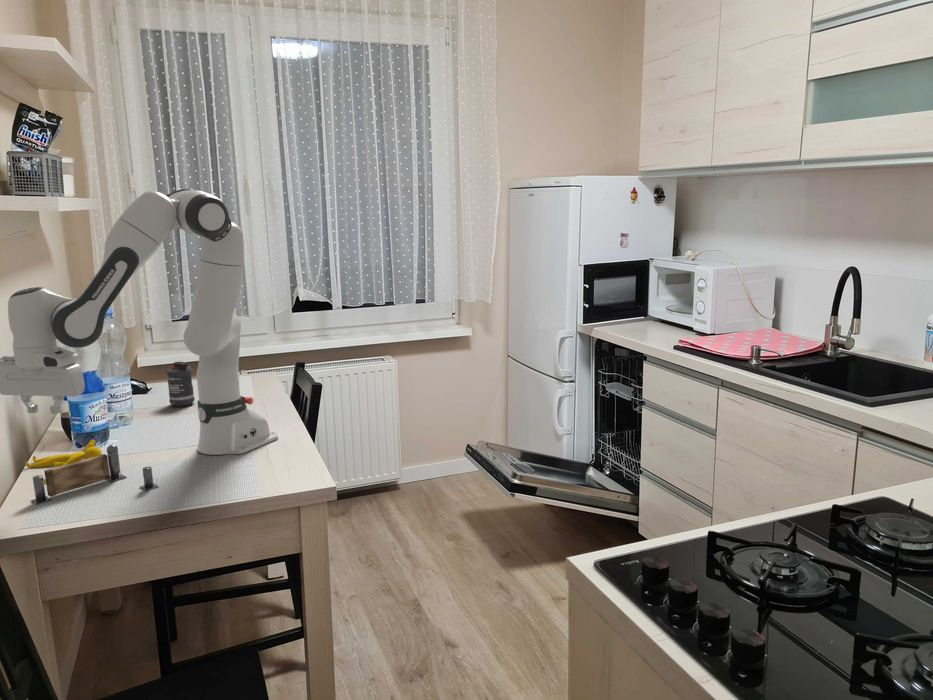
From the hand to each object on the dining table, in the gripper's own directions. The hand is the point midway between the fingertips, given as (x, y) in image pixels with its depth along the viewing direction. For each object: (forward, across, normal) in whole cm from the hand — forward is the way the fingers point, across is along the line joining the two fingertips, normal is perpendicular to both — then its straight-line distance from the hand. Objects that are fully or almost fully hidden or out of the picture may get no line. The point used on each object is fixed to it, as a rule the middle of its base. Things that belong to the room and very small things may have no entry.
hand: (44, 412), depth 167 cm
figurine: (+20, -8, +16) cm, 27 cm away
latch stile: (+19, +2, -8) cm, 21 cm away
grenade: (+19, -5, +71) cm, 74 cm away
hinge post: (+19, +12, +7) cm, 23 cm away
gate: (+18, +7, 0) cm, 20 cm away
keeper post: (+19, +23, +2) cm, 30 cm away
